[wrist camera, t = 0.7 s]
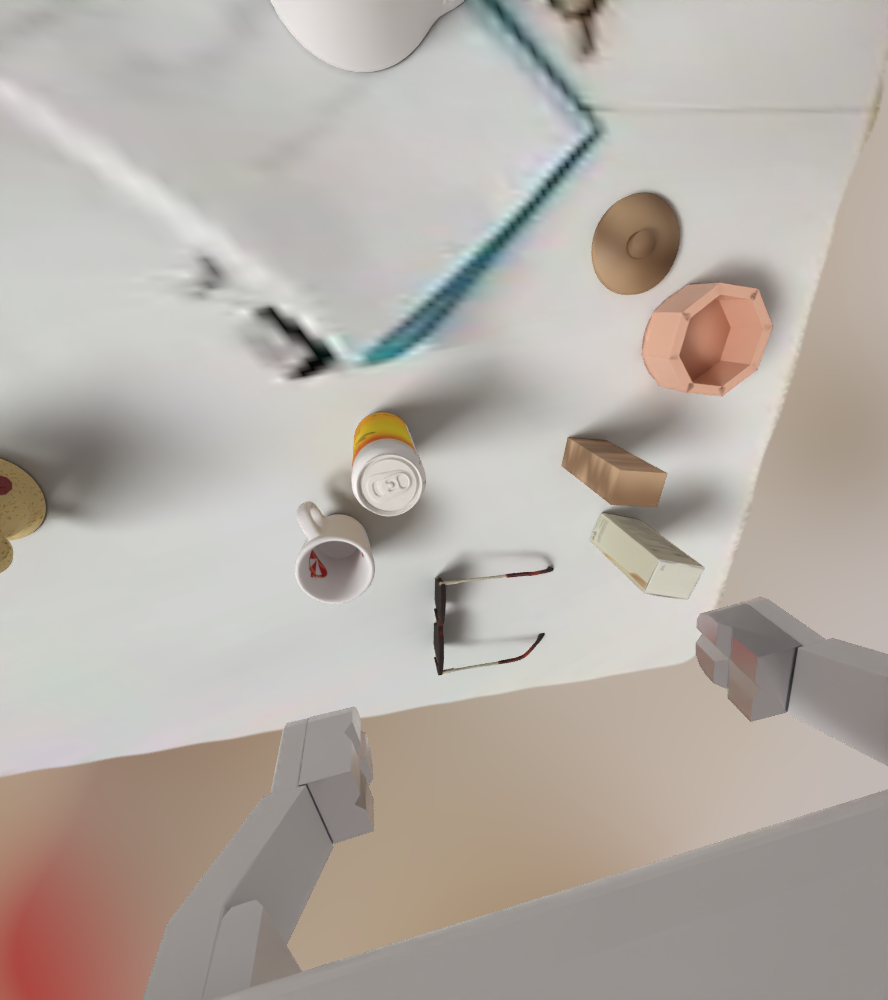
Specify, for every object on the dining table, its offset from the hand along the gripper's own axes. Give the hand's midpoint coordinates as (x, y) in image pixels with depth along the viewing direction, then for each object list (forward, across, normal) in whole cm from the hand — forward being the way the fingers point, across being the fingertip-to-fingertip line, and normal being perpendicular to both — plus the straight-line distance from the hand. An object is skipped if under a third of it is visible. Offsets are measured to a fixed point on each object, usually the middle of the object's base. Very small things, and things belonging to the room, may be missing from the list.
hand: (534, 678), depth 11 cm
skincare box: (+42, -24, +23) cm, 54 cm away
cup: (+42, +11, +13) cm, 46 cm away
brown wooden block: (+42, -20, +12) cm, 48 cm away
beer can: (+42, +3, +4) cm, 42 cm away
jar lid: (+42, -26, -10) cm, 51 cm away
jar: (+42, -33, +1) cm, 53 cm away
